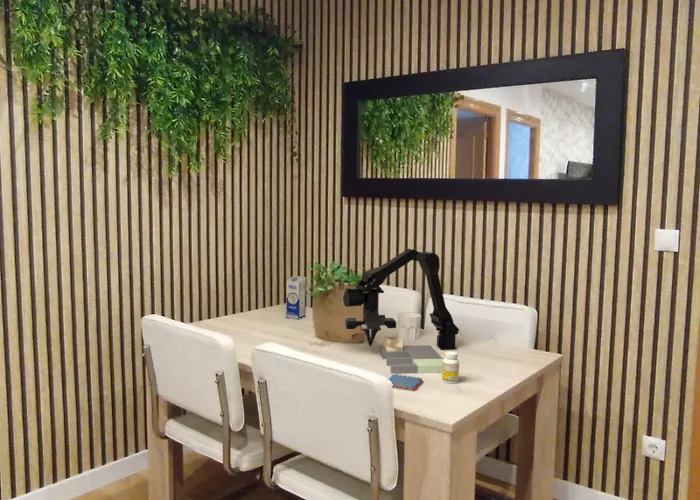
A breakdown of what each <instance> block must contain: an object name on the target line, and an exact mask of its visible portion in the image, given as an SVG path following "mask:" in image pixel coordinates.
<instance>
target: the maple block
mask: <svg viewBox="0 0 700 500" xmlns="http://www.w3.org/2000/svg"><path fill="white" fill-rule="evenodd" d="M383 338H384V340H383V342H384V343H383V346H384V348H385V349H386V351H403V346H404V339H401V338H400V337H399V336H384V337H383Z"/></svg>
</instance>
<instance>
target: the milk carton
mask: <svg viewBox="0 0 700 500" xmlns="http://www.w3.org/2000/svg"><path fill="white" fill-rule="evenodd" d="M306 282H307V281H306V276H299V275H298V276H297V275H292V276H291V277H289V278H288V279H287V280H286V319H290V318H296V319H295V320H300V319H299V318H301V319H303V318H302V317H304V318H306V293H307V292H306V291H307V289H306V284H307V283H306Z"/></svg>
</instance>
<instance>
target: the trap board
mask: <svg viewBox="0 0 700 500" xmlns="http://www.w3.org/2000/svg"><path fill="white" fill-rule="evenodd" d="M379 354H380V356H381V357H382V359H383V360H385V363H386V366H387V367H388V366H390V373H391V374H392V375H396V374H397V375H401V374H434V373H438V374H440V373H442V374H443V359H444V358H443V356H441V355H440V354H439V352H438V351H436V350H435V348H433V347H432V345H430V344H429V345H427V344H425V345H424V344H423V345H421V344H419V345H417V344H416V345H413V344H412V345H403V351H386V349H385V348H384V345H379Z"/></svg>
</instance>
